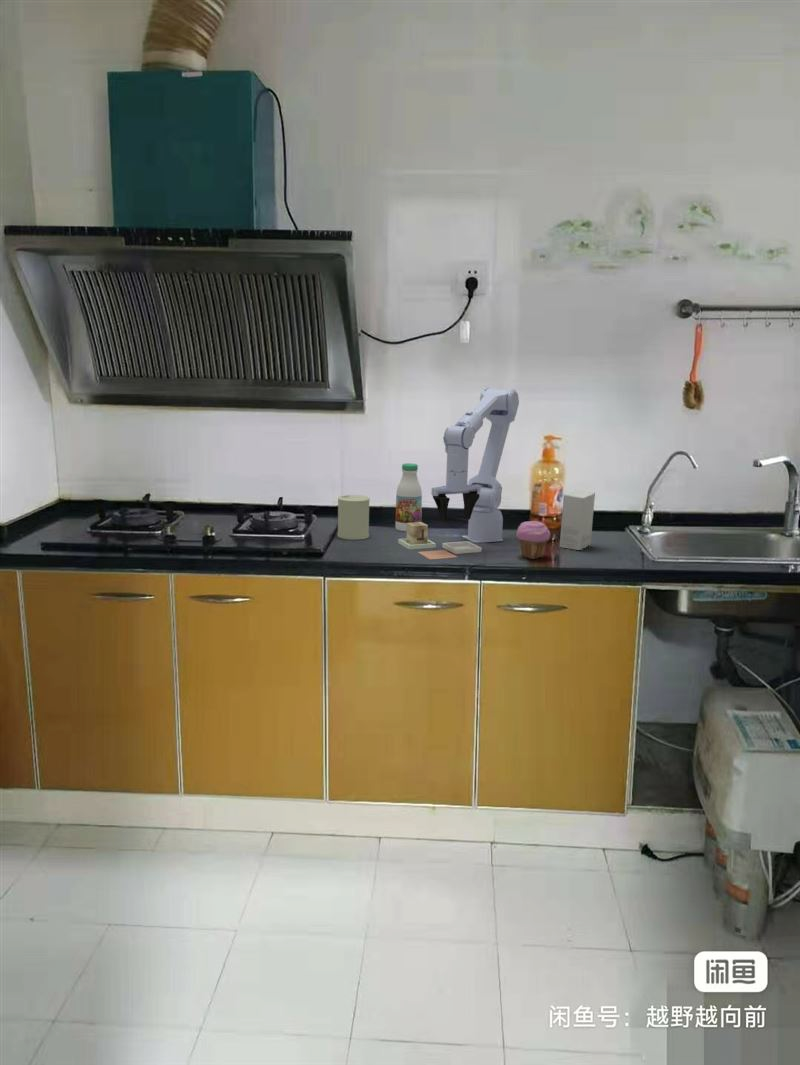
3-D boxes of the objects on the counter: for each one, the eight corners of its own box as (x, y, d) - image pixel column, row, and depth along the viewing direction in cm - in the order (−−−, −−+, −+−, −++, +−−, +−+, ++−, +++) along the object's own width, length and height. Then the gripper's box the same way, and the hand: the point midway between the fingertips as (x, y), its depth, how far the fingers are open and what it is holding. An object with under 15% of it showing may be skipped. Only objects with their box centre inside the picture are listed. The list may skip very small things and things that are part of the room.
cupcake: (532, 563, 226) (534, 525, 224) (508, 556, 233) (510, 519, 231) (555, 558, 232) (557, 521, 230) (531, 551, 238) (533, 516, 236)
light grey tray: (468, 546, 243) (468, 541, 242) (481, 553, 235) (481, 547, 235) (442, 548, 239) (442, 543, 239) (455, 555, 232) (455, 549, 232)
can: (347, 532, 256) (348, 492, 254) (374, 536, 252) (375, 495, 249) (331, 538, 248) (331, 497, 246) (359, 542, 244) (359, 500, 241)
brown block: (420, 542, 243) (421, 522, 242) (427, 546, 239) (428, 525, 238) (406, 543, 242) (406, 522, 240) (412, 547, 238) (413, 526, 236)
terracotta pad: (444, 551, 236) (444, 549, 236) (457, 558, 229) (457, 556, 229) (417, 553, 233) (417, 551, 233) (430, 561, 226) (430, 559, 226)
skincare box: (571, 542, 250) (574, 489, 246) (592, 546, 246) (596, 492, 243) (558, 548, 243) (562, 493, 240) (580, 551, 239) (584, 496, 236)
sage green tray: (423, 542, 246) (424, 537, 246) (435, 548, 239) (435, 543, 238) (397, 544, 243) (398, 539, 242) (409, 550, 236) (409, 545, 235)
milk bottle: (394, 527, 264) (395, 462, 260) (419, 527, 265) (421, 462, 261) (396, 532, 257) (398, 466, 252) (422, 532, 258) (424, 466, 253)
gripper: (471, 466, 240) (469, 514, 243) (426, 469, 233) (424, 519, 236) (485, 470, 234) (483, 519, 237) (439, 473, 227) (438, 524, 230)
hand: (455, 519), depth 236 cm, fingers open, 7 cm apart
